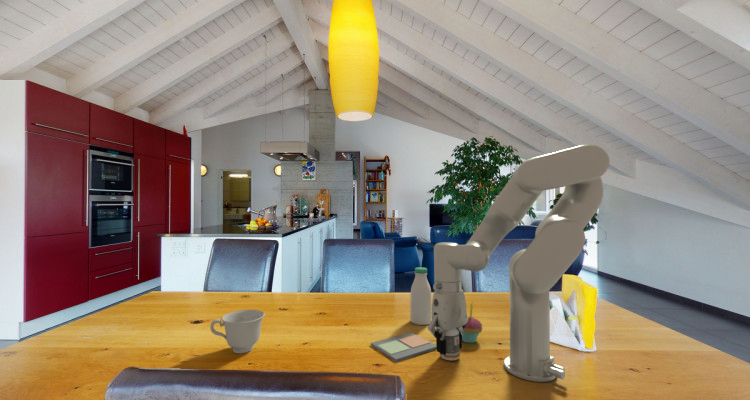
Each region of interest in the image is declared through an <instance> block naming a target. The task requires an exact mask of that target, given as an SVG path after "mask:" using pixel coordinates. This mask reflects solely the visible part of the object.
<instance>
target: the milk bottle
mask: <svg viewBox="0 0 750 400" xmlns="http://www.w3.org/2000/svg"><path fill="white" fill-rule="evenodd" d="M414 275H415V276H414V280H413V282H412V284H411V287H410V301H409V302H410V310H409V311H410V316H409V317H410V319H409V320H410V322H411V323H412V324H414V325H417V326H427V325H429V324H430V322H431V321H432V289H431V285H430V283H429V281H428V278H427V275H428V268H427V267H424V266H423V267H419V266H418V267H415V268H414Z"/></svg>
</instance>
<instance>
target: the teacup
mask: <svg viewBox="0 0 750 400" xmlns="http://www.w3.org/2000/svg"><path fill="white" fill-rule="evenodd" d="M264 317H265V312H264V311H262V310H259V309H240V310H236V311H231V312H228V313H226V314H224V315H223V316H222V317H221V319H220V318H215V319H214V320H212V322H211V323H210V326H209V327H210V332H211V333H212V334H214V335H215V336H219V337H222V338H223V339H225V341H226V343H227V345H228V347H230V348H232V352H233V353H235V354H246V353H249V352H251V351H252V350H253V349H254V345H256V343H258V341H259V339H260V336H261V329H262V322H263V318H264ZM215 324H219V327H220V328H221V327H224V331H225V334H224V333H223V332H220V331H217V330H216V329H215V327H214V326H215Z"/></svg>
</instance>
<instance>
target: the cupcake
mask: <svg viewBox="0 0 750 400" xmlns="http://www.w3.org/2000/svg"><path fill="white" fill-rule="evenodd" d="M473 305H474V304H473V303H470V308H469V310H470V311H469V316H467V317H468V318H469V319H468V321H467V323H466V326H465V328H464V330H463V331H464V333H463V334H462V342H463V343H469V344H472V343H473V344H474V343H476V342H477V338H478V336H479V334H480V333H482V331H483V324H482V323H481V321H479V319H476V318H475V317H473Z"/></svg>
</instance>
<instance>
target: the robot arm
mask: <svg viewBox="0 0 750 400" xmlns="http://www.w3.org/2000/svg"><path fill="white" fill-rule="evenodd" d="M609 166H610V157H609V154H608V153H607V151H606V150H605V149H604V148H602V147H601V146H598V145H595V144H581V145H578V146H573V147H570V148H566V149H562V150H559V151H556V152H555V151H554V152H552V153H547V154H543V155H539V156H535V157H531V158H529V159H528V158H527V159H526V160H525V161H523V162H521V164H520V165H519V166H518V167H517V169H516V170H515V172H514V173H513V174H512V176H511V177H510V179H509V180H508V181H507V183H506V184H505V186H504V187H503V188H502V190H501V191H500V193H499V194H498V195H497V197H496V198H495V200H494V201H493V202H492V203H491V205H490V206H489V208H488V210H487V212H486V214H485V216H484V218H483V220H482V221H481V223H480V224H479V226H478V227H477V228H476V230H475V231H474V232H473V234H472V235H471V237H470V238H469V240H468V241H467V242H466V243H465V244H458V243H457V242H452V241H450V242H444V241H443V242H442V241H441V242H438V243H435V245H434V246H433V261H434V262H433V263H434V264H433V265H434V266H433V268H434V269H433V270H434V273H433V274H434V284H433V286H432V288H433V290H434V291H433V295H432V299H431V322H430V324H428V326H427V330H428V331H429V332H430V333H431V334H432V336H433V337H434V339H435V342H436V344H435V345H436V350H435V351H436V352H437V353H439V354H440V353H441V354H443V355H445V354H446V340H444V337H445V333H446V331H448V330H451V329H455V328H456V329H458V331H459V342H460V350H461V349H463V341H462V334H463V333H464V331H463V330H464V328H465V326H466V323H467V321H468V319H469V318H468V317H469V316H468V311H467V302H466V301H467V300H466V295H465V291H464V290H463V288H462V270H464V271H468V272H481V271H482V270H484V269H486V267H487V266H488V265H489V262H490V256H491V255H492V254H493V252H494V251H495V250H496V248H498V246H499V245H500V243H501V242H502V240H503V239H504V238H505V237H506V236H507V235H508V234H509V233H510V232H511V231H512V230H514V229H515V228H516V227H517V226H518V225H519V224H520V223H521V221H523V219H524V217H525V216H526V215H527V213H528V212H529V211H530V209H531V208H532V206H533V205H534V204H535V202H536V201H537V200H538V198H539V197H540V195H541V194H542V193H543V192H545V191H548V190H554V189H558V188H563V187H564V191H563V192H562V195H561V196H560V198H559V199H558V200H557V202H556V204H554V206H553V207H552V209H551V210H550V211H549V212H548V214H547V215H546V216H545V218H544V219H543V220H542V221H541V222H540V223H539V224H538V226H537V227H536V229H535V231H534V232H535V235H534V238H533V239H532V241H531V242H530V243H529V245H528V246H527V247H526V248H524V249H521V250H518V251H516V252H515V253H514V254H513V255H512V257H511V258H510V260H509V265H508V275H509V279H508V281H509V356H507V357H505V358H504V359H503V366H504V369H505V370H506V371H507V372H508V373H510V374H511V375H513V376H515V377H516V378H519V379H523V380H526V381H530V382H535V383H537V382H538V383H545V382H546V383H547V382H551V381H553V380H555V379H556V378H557V379H560V380H565V377H566V373H565V371H566V370H565V367H564V366H561V365H559V364H558V365H557V364H556V363H555V357H554V356H551V349H550V348H551V345H550V344H551V342H550V340H551V339H550V337H551V333H550V332H551V330H550V327H551V325H550V324H551V323H550V321H551V320H550V313H551V312H550V311H551V309H550V305H551V304H550V290H551V289H552V288H553V287H554V286H555V285H556V284H557V283H558V281H559V280H560V279H561V278H562V276H563V275H564V274H565V272H567V271H568V269H569V268H570V266H571V265H572V264H573V263H574V261H576V260H577V258H578V256H579V255H580V254H581V253H582V250H583V249H584V247H585V243H586V234H585V231H584V230H585V228H586V226H587V225H588V224H589V222H590V221H591V219H592V218H593V217H594V216H595V214H596V212H597V211H598V209H599V208H600V205H601V204H602V201H603V197H604V185H603V180H602V176H604V175H605V174H606V172H607V171H608V169H609ZM440 330H441V334H440V333H439V332H440Z"/></svg>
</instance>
